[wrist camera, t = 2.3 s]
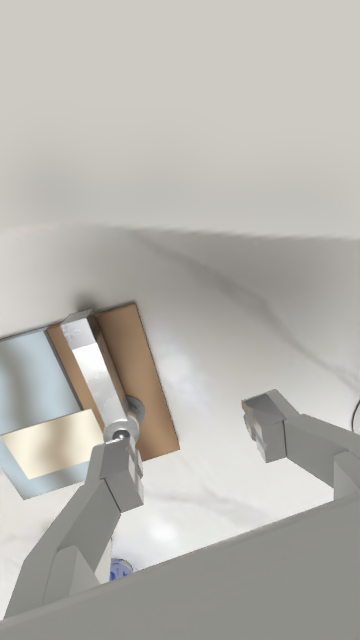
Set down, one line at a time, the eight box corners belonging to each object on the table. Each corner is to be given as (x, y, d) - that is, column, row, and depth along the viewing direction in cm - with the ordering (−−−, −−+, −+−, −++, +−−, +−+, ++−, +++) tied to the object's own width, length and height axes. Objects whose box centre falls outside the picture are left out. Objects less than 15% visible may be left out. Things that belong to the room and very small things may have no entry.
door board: (135, 302, 25) (135, 306, 24) (178, 442, 32) (180, 450, 31) (-64, 356, 24) (-75, 363, 22) (27, 490, 31) (23, 501, 29)
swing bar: (142, 423, 28) (143, 446, 25) (112, 432, 28) (109, 457, 25) (99, 306, 23) (93, 316, 20) (61, 316, 23) (50, 328, 20)
